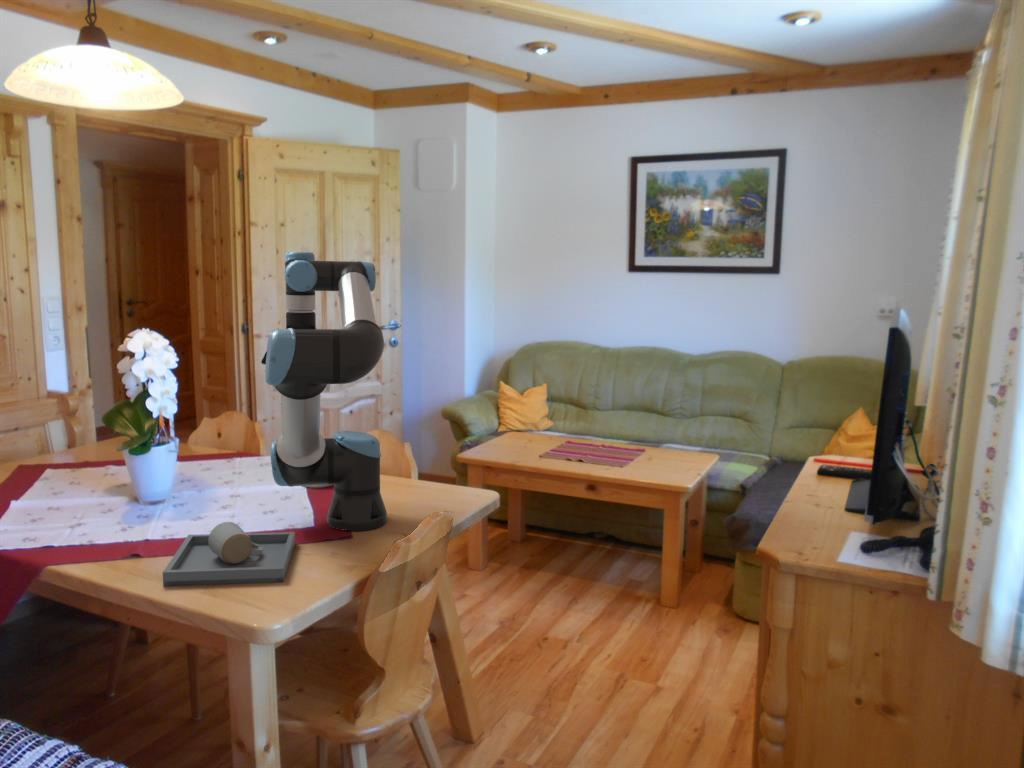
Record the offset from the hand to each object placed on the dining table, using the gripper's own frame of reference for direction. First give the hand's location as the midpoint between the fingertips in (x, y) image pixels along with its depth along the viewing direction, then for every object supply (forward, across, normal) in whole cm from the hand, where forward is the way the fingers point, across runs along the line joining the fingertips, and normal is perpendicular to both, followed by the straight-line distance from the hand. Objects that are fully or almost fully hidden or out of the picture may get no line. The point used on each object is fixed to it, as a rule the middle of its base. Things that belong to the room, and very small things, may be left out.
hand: (301, 390), depth 213 cm
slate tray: (+32, +11, +41) cm, 53 cm away
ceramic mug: (+31, +10, +40) cm, 52 cm away
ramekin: (+32, -2, -21) cm, 38 cm away
